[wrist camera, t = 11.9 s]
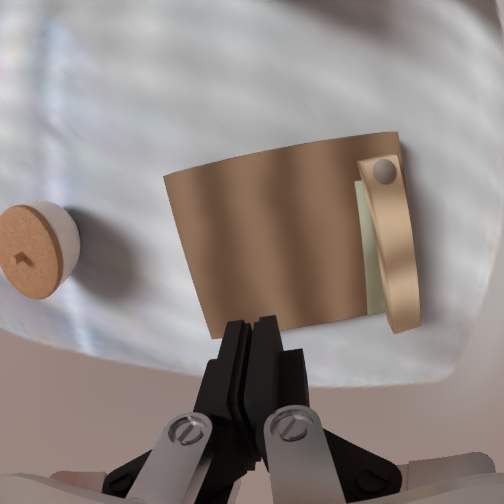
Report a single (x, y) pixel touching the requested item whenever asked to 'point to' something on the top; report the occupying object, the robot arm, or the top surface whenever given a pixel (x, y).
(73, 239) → the lidded jar
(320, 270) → the brown wooden flat board
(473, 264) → the top surface
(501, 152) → the top surface
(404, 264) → the oak leg
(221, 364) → the robot arm
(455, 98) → the top surface
